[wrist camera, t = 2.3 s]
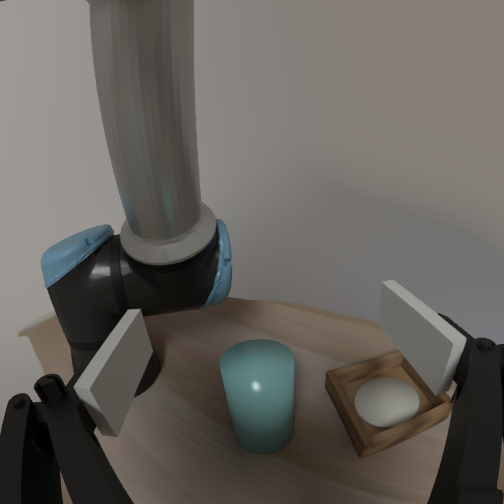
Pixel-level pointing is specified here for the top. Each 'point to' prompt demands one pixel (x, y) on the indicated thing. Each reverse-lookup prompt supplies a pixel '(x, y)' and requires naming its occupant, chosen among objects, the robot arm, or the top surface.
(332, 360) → the top surface
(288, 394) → the teal cylinder
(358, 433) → the walnut tray
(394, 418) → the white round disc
